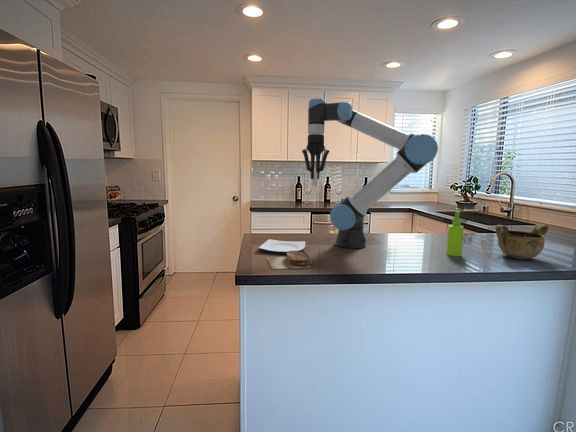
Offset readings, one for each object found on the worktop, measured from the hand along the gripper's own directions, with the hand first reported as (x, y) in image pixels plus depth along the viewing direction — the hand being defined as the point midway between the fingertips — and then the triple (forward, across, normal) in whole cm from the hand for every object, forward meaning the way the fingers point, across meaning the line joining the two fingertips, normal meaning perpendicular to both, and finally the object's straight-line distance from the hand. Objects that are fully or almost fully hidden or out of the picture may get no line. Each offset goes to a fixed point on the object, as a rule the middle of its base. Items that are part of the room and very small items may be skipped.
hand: (314, 186), depth 156 cm
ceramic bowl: (+30, +85, -32) cm, 96 cm away
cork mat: (+29, -18, -23) cm, 41 cm away
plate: (+30, -15, -1) cm, 34 cm away
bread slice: (+28, -9, -23) cm, 37 cm away
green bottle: (+30, +60, -22) cm, 70 cm away
